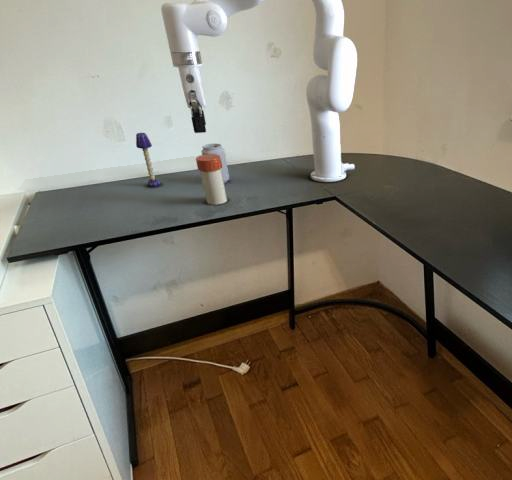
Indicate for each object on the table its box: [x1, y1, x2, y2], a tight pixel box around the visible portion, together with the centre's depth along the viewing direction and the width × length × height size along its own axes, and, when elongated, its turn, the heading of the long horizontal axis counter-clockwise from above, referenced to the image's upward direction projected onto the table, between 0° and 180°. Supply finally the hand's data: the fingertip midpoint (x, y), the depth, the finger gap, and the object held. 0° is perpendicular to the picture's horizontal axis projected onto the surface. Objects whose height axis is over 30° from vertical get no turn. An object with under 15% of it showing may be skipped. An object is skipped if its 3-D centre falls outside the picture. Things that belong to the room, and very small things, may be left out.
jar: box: [199, 169, 228, 206], centre depth 144 cm, size 6×6×13 cm
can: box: [200, 143, 230, 184], centre depth 160 cm, size 8×8×12 cm
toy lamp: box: [135, 132, 162, 188], centre depth 155 cm, size 5×5×17 cm
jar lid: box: [195, 154, 222, 172], centre depth 140 cm, size 7×7×3 cm
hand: (200, 128), depth 135 cm, fingers open, 9 cm apart
